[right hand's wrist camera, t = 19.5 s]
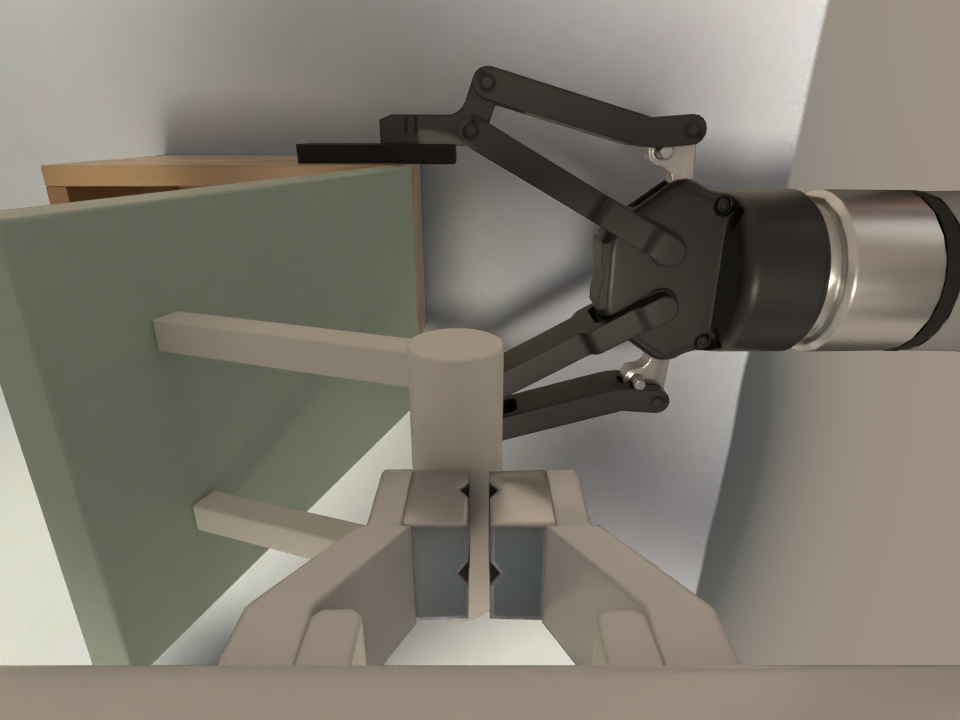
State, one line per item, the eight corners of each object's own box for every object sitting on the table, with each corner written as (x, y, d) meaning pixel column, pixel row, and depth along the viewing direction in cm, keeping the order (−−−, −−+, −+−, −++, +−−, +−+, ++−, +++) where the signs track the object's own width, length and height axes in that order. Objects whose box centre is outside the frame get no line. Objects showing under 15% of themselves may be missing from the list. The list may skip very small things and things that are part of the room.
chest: (196, 325, 36) (99, 393, 26) (164, 155, 32) (39, 165, 23) (426, 323, 36) (410, 392, 26) (419, 154, 32) (399, 164, 23)
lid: (91, 668, 13) (451, 802, 10) (-58, 216, 9) (436, 249, 7) (396, 396, 26) (588, 425, 23) (383, 165, 22) (607, 170, 20)
